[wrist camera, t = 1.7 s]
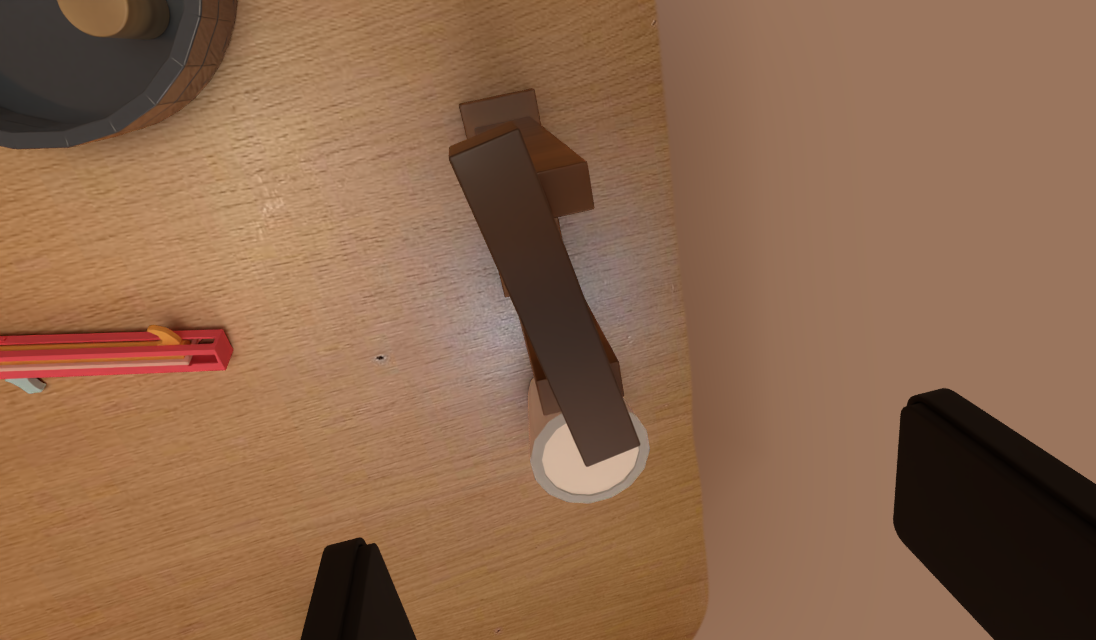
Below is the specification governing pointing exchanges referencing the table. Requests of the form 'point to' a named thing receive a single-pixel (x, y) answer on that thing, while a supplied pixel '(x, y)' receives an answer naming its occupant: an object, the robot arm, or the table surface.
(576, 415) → the dark brown bar
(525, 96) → the rest
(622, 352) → the table surface
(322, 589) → the robot arm
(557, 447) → the beige cylinder
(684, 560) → the table surface
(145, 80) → the bowl
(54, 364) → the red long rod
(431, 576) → the table surface
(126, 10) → the cork
